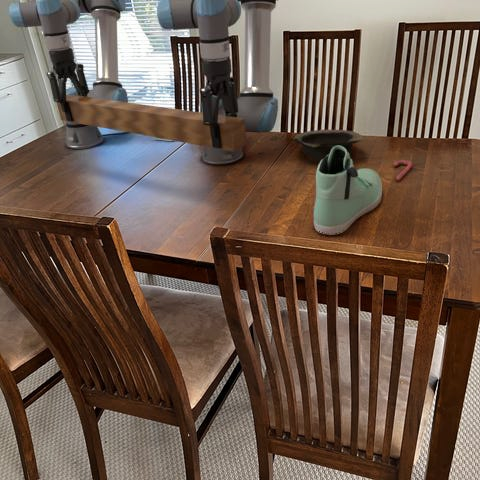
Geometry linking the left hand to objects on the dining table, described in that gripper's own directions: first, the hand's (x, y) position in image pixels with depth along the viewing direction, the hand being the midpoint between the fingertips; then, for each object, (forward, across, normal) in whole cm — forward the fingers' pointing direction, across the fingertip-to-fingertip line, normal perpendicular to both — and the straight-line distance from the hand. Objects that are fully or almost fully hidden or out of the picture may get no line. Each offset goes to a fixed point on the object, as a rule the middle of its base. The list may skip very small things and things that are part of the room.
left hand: (77, 118), depth 169 cm
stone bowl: (+20, +48, -73) cm, 90 cm away
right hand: (0, 0, -64) cm, 64 cm away
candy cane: (+19, +44, -102) cm, 112 cm away
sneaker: (+19, +14, -97) cm, 99 cm away
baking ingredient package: (+20, +42, -4) cm, 47 cm away
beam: (0, 0, -32) cm, 32 cm away
